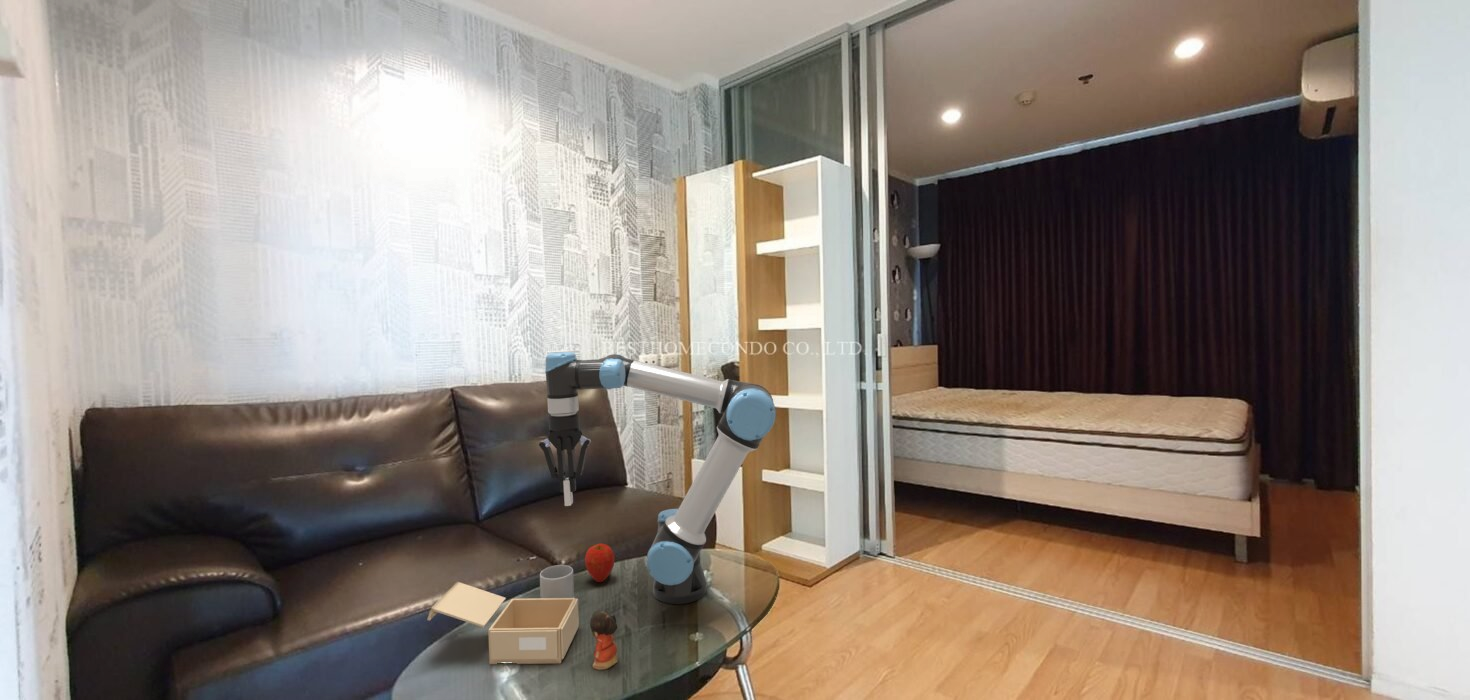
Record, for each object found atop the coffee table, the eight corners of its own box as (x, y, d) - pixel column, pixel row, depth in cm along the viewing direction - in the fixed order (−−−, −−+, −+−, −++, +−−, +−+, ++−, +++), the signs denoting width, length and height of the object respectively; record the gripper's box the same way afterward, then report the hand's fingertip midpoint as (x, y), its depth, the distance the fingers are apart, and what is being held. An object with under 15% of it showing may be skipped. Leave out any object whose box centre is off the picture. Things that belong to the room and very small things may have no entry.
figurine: (621, 655, 134) (620, 604, 133) (617, 670, 129) (616, 617, 128) (593, 655, 134) (592, 605, 133) (588, 670, 128) (587, 618, 128)
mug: (577, 616, 151) (576, 575, 151) (542, 623, 148) (541, 581, 147) (569, 595, 162) (568, 557, 162) (537, 602, 159) (536, 563, 158)
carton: (579, 628, 146) (578, 597, 145) (562, 664, 131) (561, 630, 130) (513, 628, 146) (512, 597, 145) (488, 665, 130) (487, 631, 130)
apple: (587, 574, 175) (586, 539, 174) (616, 573, 176) (615, 538, 175) (583, 588, 166) (582, 551, 166) (613, 586, 167) (612, 550, 167)
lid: (457, 581, 143) (453, 592, 144) (431, 607, 131) (427, 619, 131) (505, 597, 144) (502, 608, 144) (484, 625, 131) (480, 637, 131)
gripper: (592, 409, 152) (597, 498, 154) (541, 411, 152) (547, 500, 153) (586, 414, 145) (591, 507, 146) (533, 417, 144) (539, 510, 146)
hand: (568, 504), depth 150 cm, fingers closed
